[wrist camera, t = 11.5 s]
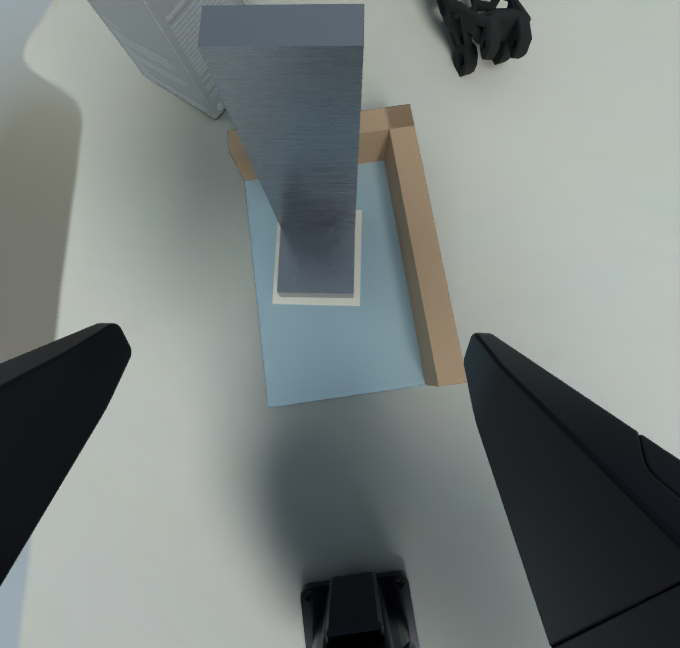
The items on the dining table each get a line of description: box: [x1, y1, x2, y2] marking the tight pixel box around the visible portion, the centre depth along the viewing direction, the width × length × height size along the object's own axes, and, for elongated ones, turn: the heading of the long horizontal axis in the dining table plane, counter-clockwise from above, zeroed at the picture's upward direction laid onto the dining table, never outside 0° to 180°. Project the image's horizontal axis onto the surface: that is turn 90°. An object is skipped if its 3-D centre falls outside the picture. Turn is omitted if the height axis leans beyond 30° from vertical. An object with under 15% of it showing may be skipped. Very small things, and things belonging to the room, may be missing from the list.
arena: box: [228, 104, 467, 408], centre depth 21 cm, size 18×12×4 cm, turn 8°
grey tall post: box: [198, 4, 364, 298], centre depth 16 cm, size 6×5×13 cm
